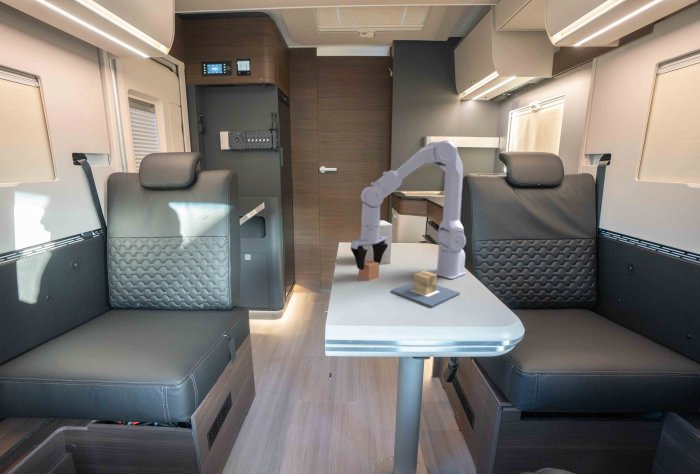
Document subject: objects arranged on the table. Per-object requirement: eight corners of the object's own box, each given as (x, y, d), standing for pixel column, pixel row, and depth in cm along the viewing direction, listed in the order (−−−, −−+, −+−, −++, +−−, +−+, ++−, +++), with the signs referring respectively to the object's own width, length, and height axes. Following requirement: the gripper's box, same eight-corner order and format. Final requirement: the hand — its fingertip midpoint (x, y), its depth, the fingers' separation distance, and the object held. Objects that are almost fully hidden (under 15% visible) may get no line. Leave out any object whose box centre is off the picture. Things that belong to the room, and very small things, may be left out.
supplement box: (367, 265, 122) (369, 224, 119) (360, 258, 131) (361, 220, 127) (391, 263, 125) (393, 224, 121) (382, 257, 133) (384, 219, 130)
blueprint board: (419, 281, 107) (419, 279, 107) (459, 294, 97) (459, 292, 97) (390, 292, 98) (391, 289, 98) (431, 307, 88) (431, 305, 88)
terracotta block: (368, 274, 113) (368, 259, 112) (378, 277, 110) (379, 263, 109) (358, 277, 110) (359, 262, 109) (368, 281, 107) (369, 265, 106)
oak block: (422, 286, 101) (423, 270, 100) (435, 291, 98) (436, 274, 96) (413, 290, 98) (414, 273, 97) (426, 295, 95) (427, 278, 93)
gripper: (376, 221, 114) (375, 259, 117) (344, 226, 104) (343, 267, 107) (392, 224, 109) (390, 264, 112) (360, 229, 99) (359, 273, 102)
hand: (368, 266), depth 109 cm, fingers open, 7 cm apart
